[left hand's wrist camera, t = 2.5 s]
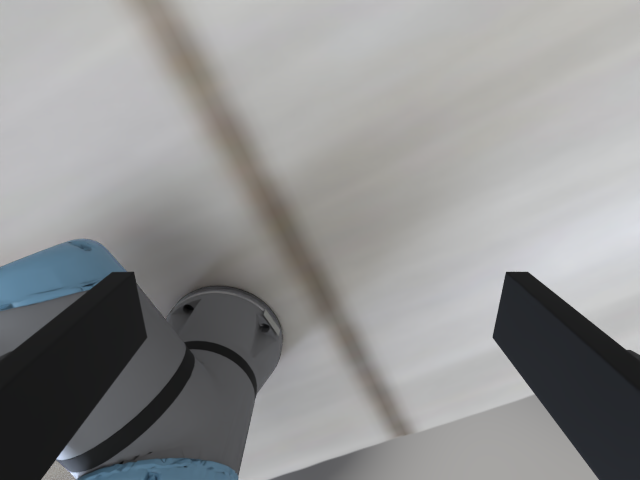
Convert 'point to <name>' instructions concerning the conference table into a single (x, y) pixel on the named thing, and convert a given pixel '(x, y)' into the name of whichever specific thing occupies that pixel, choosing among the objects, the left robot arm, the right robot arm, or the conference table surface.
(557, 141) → the conference table surface
